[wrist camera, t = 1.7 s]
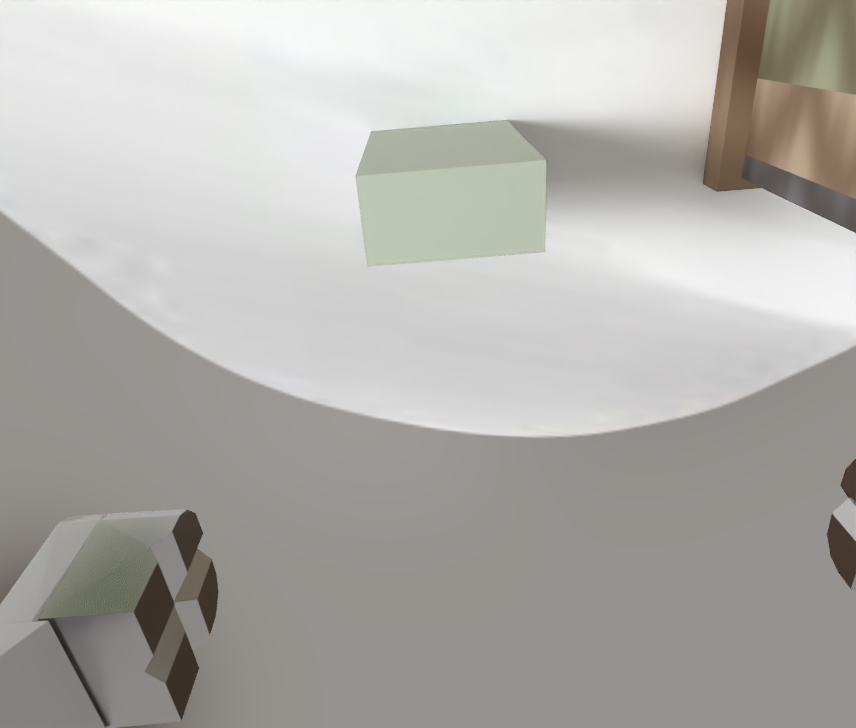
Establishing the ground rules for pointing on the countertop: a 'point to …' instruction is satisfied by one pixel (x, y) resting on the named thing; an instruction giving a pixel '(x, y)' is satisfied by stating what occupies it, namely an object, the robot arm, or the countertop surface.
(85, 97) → the countertop surface
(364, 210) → the pale green box
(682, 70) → the countertop surface
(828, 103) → the book rack
